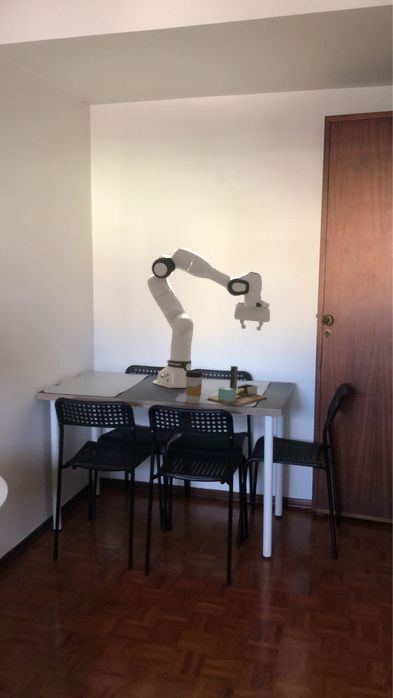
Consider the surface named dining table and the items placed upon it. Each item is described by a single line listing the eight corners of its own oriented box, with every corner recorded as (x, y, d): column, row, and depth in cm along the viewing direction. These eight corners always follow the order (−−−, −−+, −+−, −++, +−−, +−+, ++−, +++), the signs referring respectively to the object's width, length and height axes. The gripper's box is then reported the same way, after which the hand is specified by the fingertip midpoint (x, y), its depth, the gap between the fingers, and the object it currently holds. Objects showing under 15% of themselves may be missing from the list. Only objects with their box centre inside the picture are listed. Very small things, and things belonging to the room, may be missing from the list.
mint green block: (218, 399, 285) (218, 388, 284) (223, 398, 289) (224, 386, 288) (229, 401, 281) (230, 390, 280) (235, 400, 284) (236, 389, 284)
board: (207, 399, 287) (207, 397, 287) (236, 392, 308) (236, 390, 307) (238, 406, 277) (238, 404, 276) (266, 398, 297) (266, 396, 297)
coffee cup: (195, 404, 276) (197, 373, 274) (181, 402, 280) (182, 371, 278) (205, 401, 283) (206, 371, 281) (190, 399, 287) (191, 369, 285)
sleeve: (236, 394, 297) (237, 386, 297) (246, 392, 304) (246, 383, 303) (247, 396, 293) (248, 388, 293) (256, 394, 300) (257, 385, 300)
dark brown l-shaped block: (223, 397, 285) (225, 367, 283) (239, 393, 296) (241, 364, 294) (228, 398, 283) (230, 367, 281) (244, 394, 294) (246, 364, 292)
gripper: (232, 301, 310) (231, 328, 312) (265, 304, 297) (264, 331, 299) (239, 301, 315) (237, 327, 316) (272, 304, 302) (270, 331, 304)
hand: (251, 329), depth 308 cm, fingers open, 8 cm apart
